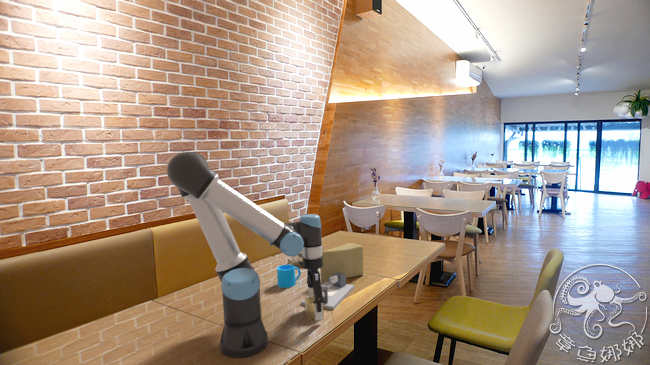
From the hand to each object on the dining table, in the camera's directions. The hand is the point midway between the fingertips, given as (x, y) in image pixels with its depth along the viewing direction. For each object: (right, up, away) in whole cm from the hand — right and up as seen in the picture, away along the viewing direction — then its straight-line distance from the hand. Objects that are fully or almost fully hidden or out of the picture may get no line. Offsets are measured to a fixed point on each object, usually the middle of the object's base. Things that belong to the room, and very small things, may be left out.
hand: (315, 312), depth 140 cm
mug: (-13, +1, +34) cm, 36 cm away
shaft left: (+2, +1, +11) cm, 11 cm away
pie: (-4, +4, +66) cm, 66 cm away
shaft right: (+9, +3, +25) cm, 27 cm away
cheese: (+11, +3, +39) cm, 40 cm away
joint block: (0, -1, 0) cm, 1 cm away
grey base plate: (+5, +1, +18) cm, 19 cm away
